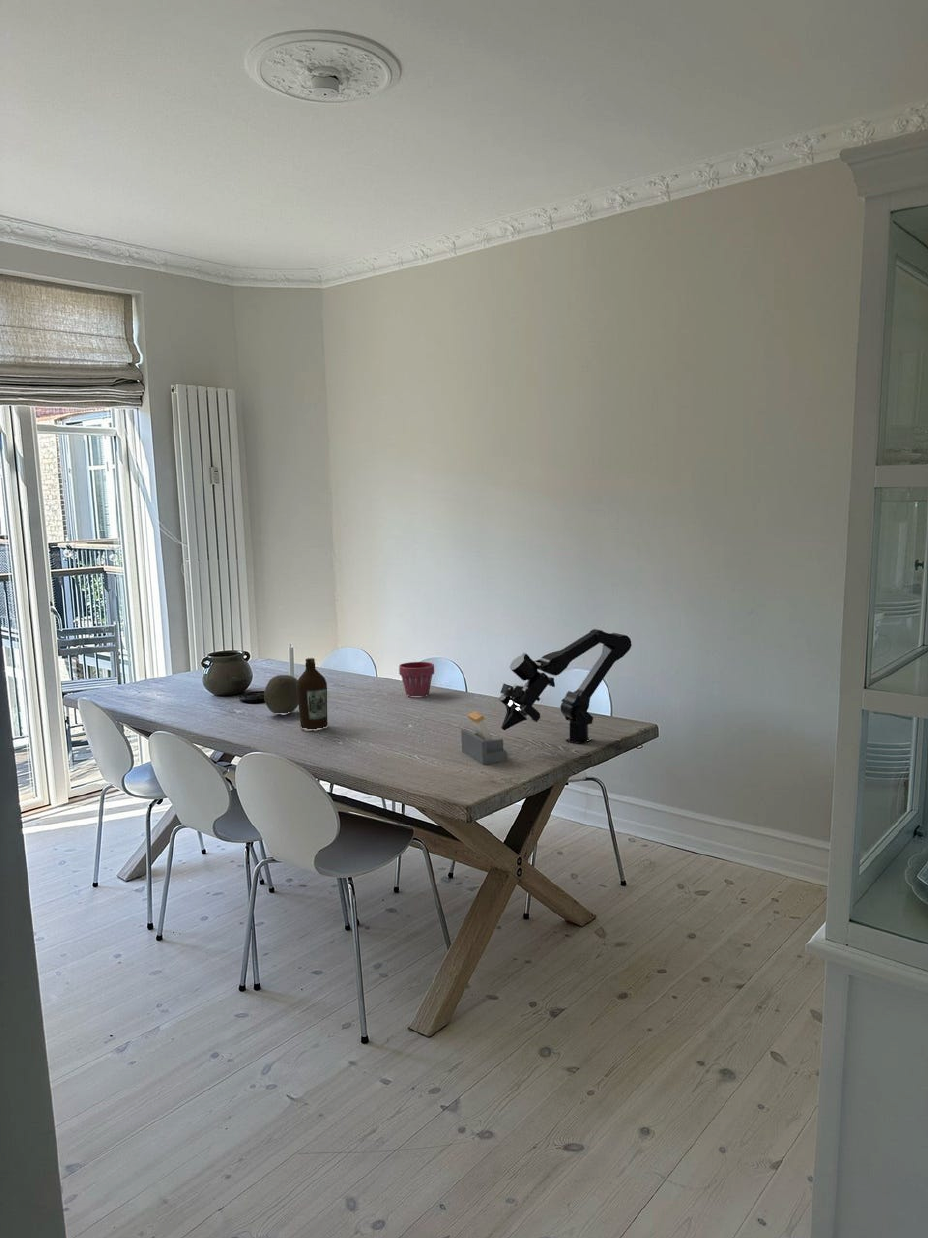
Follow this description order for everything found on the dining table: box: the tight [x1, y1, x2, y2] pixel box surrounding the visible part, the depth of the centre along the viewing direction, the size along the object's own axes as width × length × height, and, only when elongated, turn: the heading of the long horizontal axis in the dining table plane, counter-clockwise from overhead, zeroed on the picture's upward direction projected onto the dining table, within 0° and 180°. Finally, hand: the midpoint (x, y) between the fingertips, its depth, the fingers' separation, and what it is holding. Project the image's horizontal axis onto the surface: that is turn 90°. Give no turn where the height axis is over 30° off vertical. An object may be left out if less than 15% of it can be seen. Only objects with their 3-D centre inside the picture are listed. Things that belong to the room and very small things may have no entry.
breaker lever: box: [467, 710, 493, 741], centre depth 265 cm, size 3×7×10 cm, turn 23°
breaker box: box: [460, 728, 508, 765], centre depth 266 cm, size 8×16×7 cm, turn 23°
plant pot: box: [398, 661, 435, 697], centre depth 353 cm, size 14×14×13 cm
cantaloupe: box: [263, 674, 299, 714], centre depth 330 cm, size 14×14×15 cm
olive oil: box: [296, 657, 329, 729], centre depth 306 cm, size 11×11×25 cm
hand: (502, 729), depth 268 cm, fingers closed
